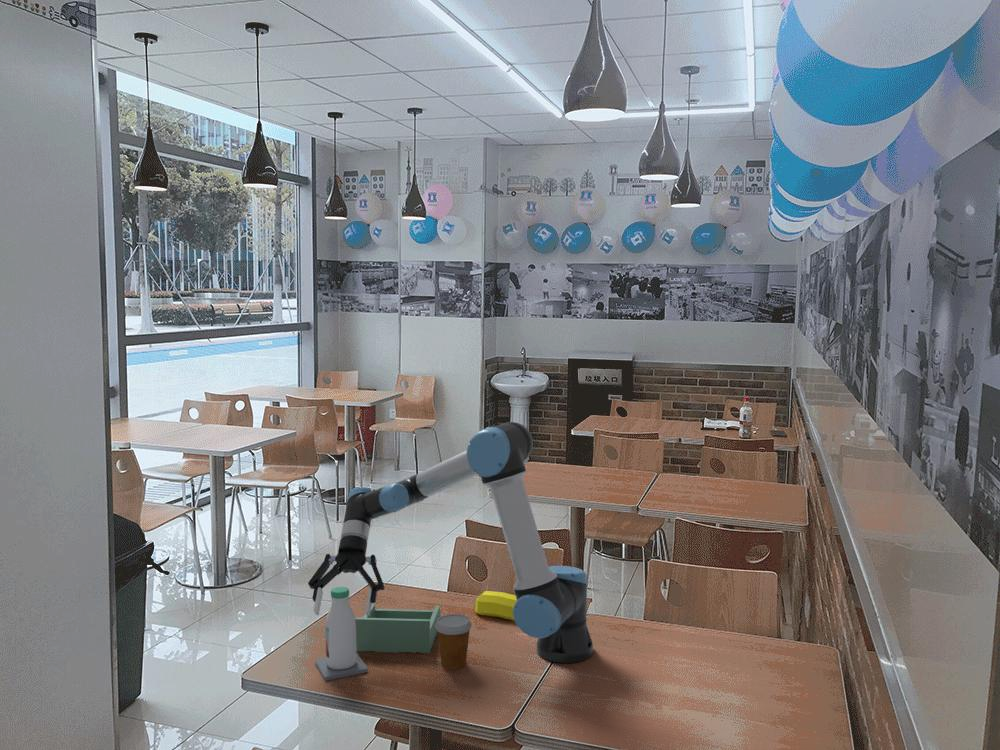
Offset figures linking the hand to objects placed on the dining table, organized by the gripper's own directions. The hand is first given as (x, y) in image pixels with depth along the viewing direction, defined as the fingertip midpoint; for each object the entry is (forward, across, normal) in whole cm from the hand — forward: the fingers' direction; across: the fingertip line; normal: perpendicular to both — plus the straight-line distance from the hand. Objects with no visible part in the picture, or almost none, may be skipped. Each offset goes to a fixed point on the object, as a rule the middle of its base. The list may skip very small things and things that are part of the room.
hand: (341, 613), depth 217 cm
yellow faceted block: (-15, -39, -35) cm, 55 cm away
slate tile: (+11, 0, -8) cm, 14 cm away
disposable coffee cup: (+9, -29, -11) cm, 32 cm away
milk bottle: (+11, 0, -7) cm, 13 cm away
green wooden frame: (-3, -12, -22) cm, 25 cm away
